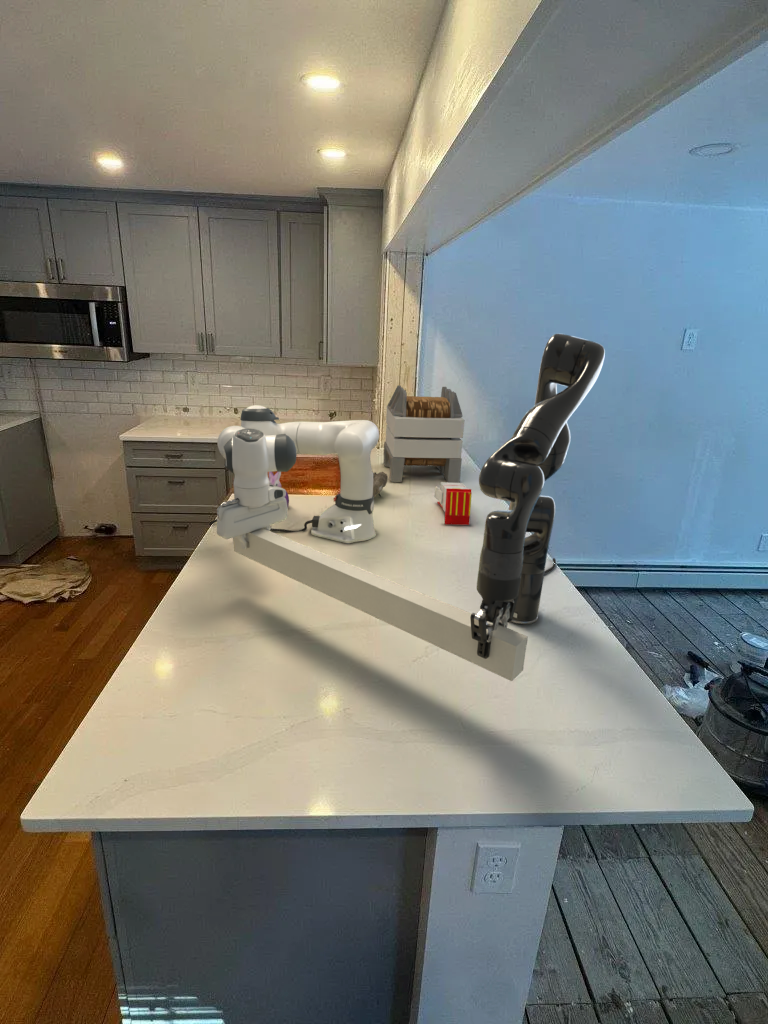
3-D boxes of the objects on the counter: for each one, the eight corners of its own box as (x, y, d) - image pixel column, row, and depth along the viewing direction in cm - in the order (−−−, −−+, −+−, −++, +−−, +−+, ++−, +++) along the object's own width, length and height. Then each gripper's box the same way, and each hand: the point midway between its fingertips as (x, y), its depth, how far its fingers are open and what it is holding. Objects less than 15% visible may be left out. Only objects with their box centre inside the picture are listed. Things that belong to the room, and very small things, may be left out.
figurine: (269, 514, 212) (268, 475, 207) (262, 505, 221) (260, 468, 216) (293, 511, 217) (293, 473, 212) (285, 503, 225) (284, 466, 220)
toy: (462, 478, 235) (476, 490, 206) (460, 509, 238) (473, 526, 208) (433, 477, 234) (442, 489, 205) (431, 509, 237) (440, 525, 208)
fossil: (356, 478, 247) (383, 459, 242) (370, 494, 250) (397, 476, 245) (349, 499, 228) (378, 479, 223) (363, 516, 230) (393, 497, 225)
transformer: (382, 463, 289) (386, 382, 275) (445, 464, 293) (451, 384, 279) (390, 482, 257) (394, 392, 243) (460, 483, 261) (468, 394, 247)
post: (233, 551, 151) (232, 525, 148) (247, 546, 154) (246, 521, 152) (511, 681, 102) (516, 646, 100) (523, 670, 106) (528, 636, 103)
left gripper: (224, 507, 134) (228, 560, 138) (290, 488, 149) (291, 537, 153) (209, 500, 137) (213, 553, 142) (275, 483, 152) (276, 531, 157)
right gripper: (499, 589, 93) (488, 676, 99) (537, 563, 104) (525, 643, 110) (460, 575, 98) (452, 659, 104) (501, 551, 108) (491, 628, 114)
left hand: (254, 544), depth 148 cm, fingers closed on post, 4 cm apart
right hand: (489, 650), depth 107 cm, fingers closed on post, 4 cm apart
